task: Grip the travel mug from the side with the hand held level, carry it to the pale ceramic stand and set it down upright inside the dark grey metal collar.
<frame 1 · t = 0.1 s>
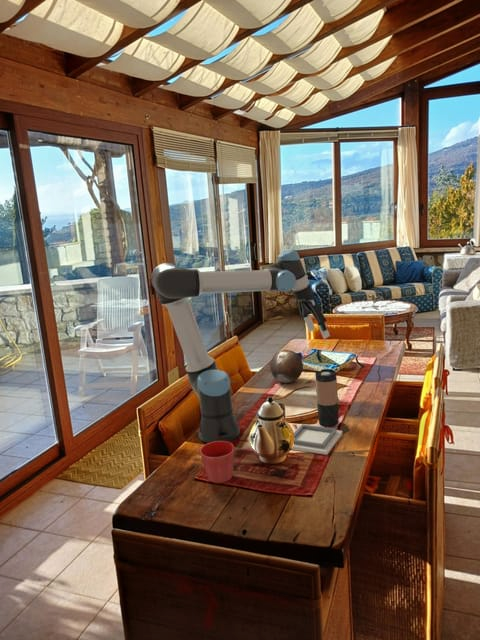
hand: (319, 333, 211), 28 cm above the table, tool tilted 20°, fingers open, 13 cm apart
mug stand: (312, 440, 180), on the table
flower pot: (220, 477, 162), on the table
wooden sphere: (287, 382, 240), on the table
travel mug: (328, 423, 192), on the table
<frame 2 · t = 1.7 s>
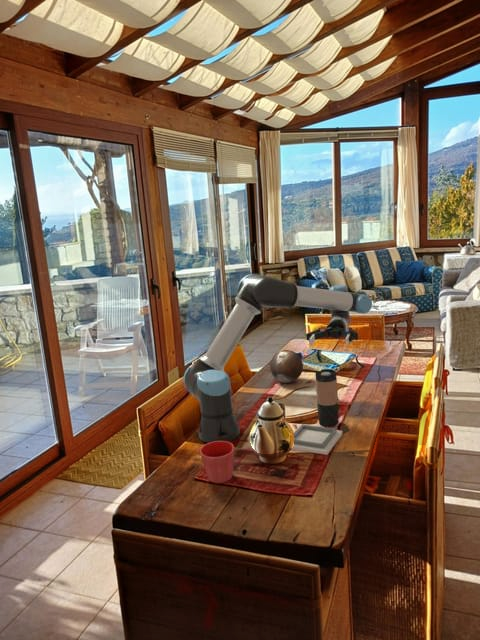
hand: (328, 342, 195), 28 cm above the table, tool horizontal, fingers open, 13 cm apart
nothing on the table moved.
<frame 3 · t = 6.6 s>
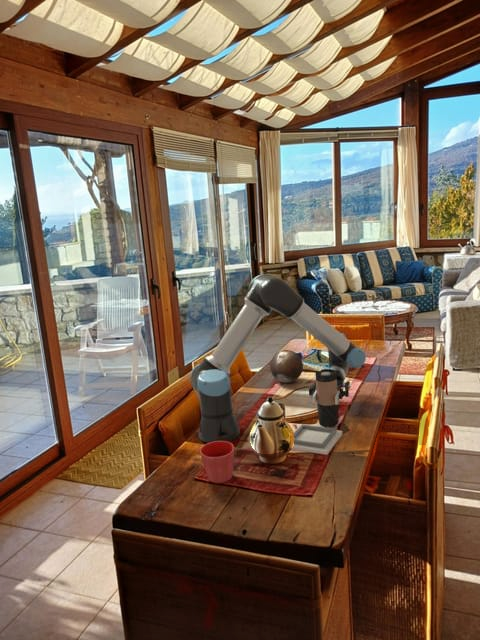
hand: (324, 400, 185), 11 cm above the table, tool horizontal, fingers closed on travel mug, 7 cm apart
travel mug: (328, 423, 192), on the table, touching gripper
everything else where it was.
when the fingers open (14 cm above the table, at t = 11.3 s): travel mug drops 2 cm, resting on mug stand.
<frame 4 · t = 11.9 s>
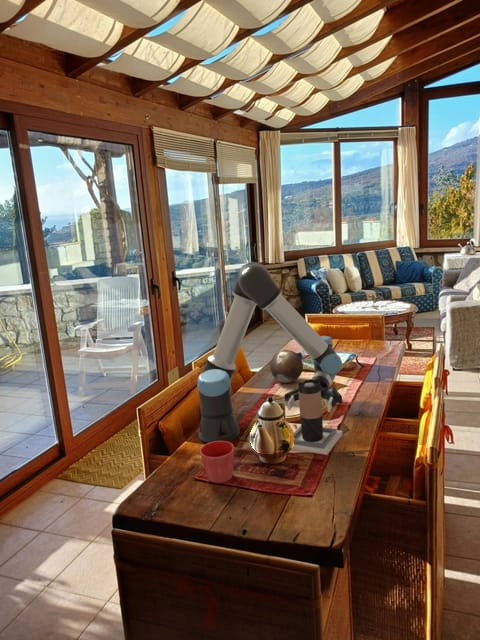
hand: (308, 407, 174), 14 cm above the table, tool horizontal, fingers open, 13 cm apart
travel mug: (312, 437, 180), point 1 cm above the table, touching mug stand
everything else where it was.
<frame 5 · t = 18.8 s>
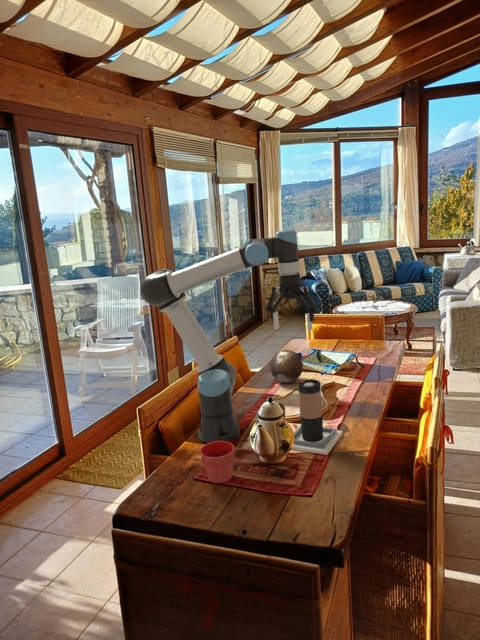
hand: (293, 329, 193), 35 cm above the table, tool pointing down, fingers open, 13 cm apart
nothing on the table moved.
at the end: travel mug 0.0 cm off-centre on the mug stand, point 1.0 cm above the mug stand's base; travel mug tilted 0°; the gripper is holding nothing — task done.
